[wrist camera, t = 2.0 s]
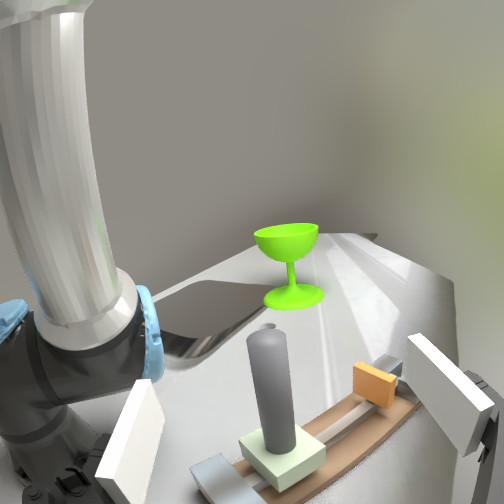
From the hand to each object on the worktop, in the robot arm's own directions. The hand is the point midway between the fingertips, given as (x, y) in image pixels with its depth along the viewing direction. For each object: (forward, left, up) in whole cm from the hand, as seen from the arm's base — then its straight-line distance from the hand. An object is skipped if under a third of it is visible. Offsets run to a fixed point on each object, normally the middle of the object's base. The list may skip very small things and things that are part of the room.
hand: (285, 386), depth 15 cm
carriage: (-9, +5, -19) cm, 22 cm away
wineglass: (-52, +41, -23) cm, 70 cm away
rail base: (-9, +12, -22) cm, 27 cm away
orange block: (-9, +22, -19) cm, 30 cm away
